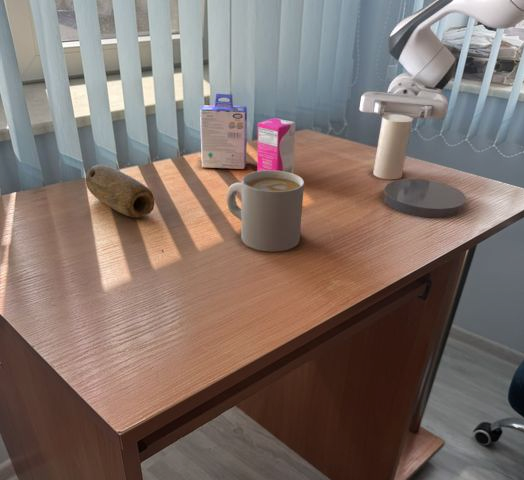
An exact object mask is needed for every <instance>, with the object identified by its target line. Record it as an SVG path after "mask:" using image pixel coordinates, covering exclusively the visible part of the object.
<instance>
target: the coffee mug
mask: <svg viewBox="0 0 524 480" xmlns="http://www.w3.org/2000/svg"><path fill="white" fill-rule="evenodd" d="M304 190H305V181H304V179H303V178H302V177H301V176H300V175H297V174H295V173H294V172H293V173H289V172H285V171H277V170H263V171H257V170H256V171H251V172H249V173H247V174H244V175H243V177H242V179H241V182H234V183H232V184H231V185H230V186H229V187H228V189H227V193H226V205H227V209H228V210H229V212H230V213H231V214H232V215H233V216H234V217H236V218H237V219H239V220H240V222H241V226H240V227H241V229H240V231H241V233H240V235H241V236H240V237H241V241H242V242H243V244H245V245H246V246H247V247H249V248H251V249H253V250H257V251H260V252H261V251H262V252H283V251H287V250H291V249H293V248H295V247H296V246H297V245H298V244H299V243H300V239H301V237H300V236H301V225H302V215H303V214H302V213H303V204H304V203H303V202H304ZM237 193H238V194H240V195H241V207H239V206H238V204H237V200H236V199H237V197H236V195H237Z"/></svg>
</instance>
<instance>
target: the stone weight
mask: <svg viewBox="0 0 524 480" xmlns="http://www.w3.org/2000/svg"><path fill="white" fill-rule="evenodd" d="M85 185H86V188H87V189H88V191H89V192H90V193H91V194H92V195H93V197H95V199H97V200H98V201H100V202H102V203H103V204H104V205H106V206H108V207H109V208H111V209H113V210H114V211H116V212H118V213H120V214H121V215H124V216H127V217H130V218H140V217H144V216H147V215H149V214H150V213H152V211H153V210H154V207H155V197H154V194H153V192H152V191H151V189H150V188H149V187H148V186H147V185H145V184H143V183H142V182H141V181H139V180H137V179H136V178H134V177H132V176H130V175H128V174H126V173H124V172H122V171H121V170H119V169H116V168H114V167H113V166H110V165H106V164H95V165H93V166H91V167H90V168H89V169H88V171H87V173H86V175H85Z"/></svg>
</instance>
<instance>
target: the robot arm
mask: <svg viewBox="0 0 524 480" xmlns="http://www.w3.org/2000/svg"><path fill="white" fill-rule="evenodd" d="M453 13H454V14H455V13H458V14H462V15H465V16H467V17H470V18H473V19H474V20H476V21H477V22H479V23H481V24H482V25H484V26H486V27H489V28H492V29H497V30H498V29H500V30H501V29H502V30H503V29H504V30H505V29H509V28H512V27H514V26H517V25H518V24H520V23H521V22H523V21H524V0H432V1H430V2H429V3H428V4H426V5H425V6H424V7H422V8H421V9H419V10H417V11H416V12H414V13H413V14H411V15H409V16H408V17H406V18H404V19H402V20H401V21H400V22H399V23H398V24H397V25H396V26H395V27H394V28H393V30H392V31H391V32H390V35H389V36H388V53H389V55H391V57H393V58H394V59H395V60H396V61H397V62H399V63H400V65H402V67H403V68H404V69H405V70H406V72H403V73H400V74H398V75H397V76H396V77H394V78H393V79H392V81H391V82H390V83H389V86H388V88H387V92H383V91H366V92H364V93H363V94H362V95H361V97H360V102H359V111H360V112H361V113H366V114H377V115H381V116H384V115H388V114H397V115H404V116H408V117H411V118H412V119H413V120H414V119H422V120H426V119H431V120H440V121H441V120H445V118H446V116H447V111H448V106H449V102H448V98H447V97H446V96H445V95H444V94H443V89H444V88H445V87H446V86H447V85H448V84H449V83H450V81H451V80H452V78H453V76H454V75H455V71H456V65H457V58H456V57H455V56H454V55H453V53H452V52H451V51H450V50H449V49H448V48H447V46H446V45H445V44H444V43H443V42H442V41H441V40H440V38H439V37H438V36H437V35H436V33H435V32H434V31H433V30H432V28H431V26H433V25H434V24H436V23H437V22H439V21H441V20H442V19H444V17H446V16H448V15H449V14H453Z"/></svg>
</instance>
